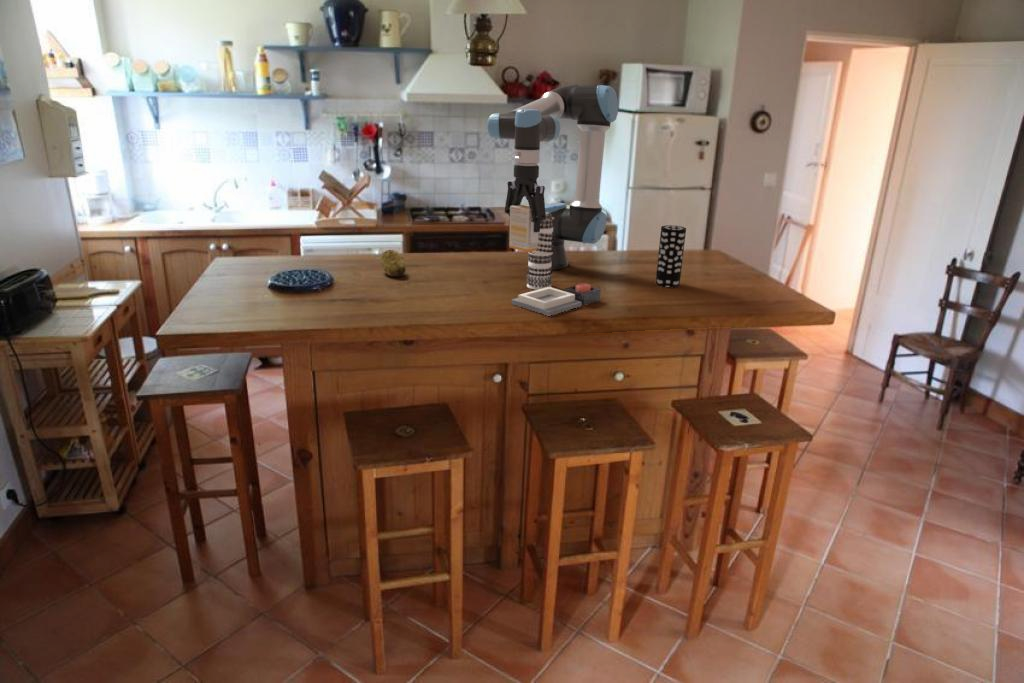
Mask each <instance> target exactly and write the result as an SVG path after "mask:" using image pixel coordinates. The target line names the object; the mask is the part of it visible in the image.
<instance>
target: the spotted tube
mask: <svg viewBox="0 0 1024 683" xmlns="http://www.w3.org/2000/svg"><path fill="white" fill-rule="evenodd" d="M686 232H687V228H686V227H684V226H680V225H671V224H670V225H662V226H660V236H659V246H658V253H657V254H658V255H657V264H656V273H655V285H656V284H657V285H656V286H658V287H660V286H662V288H666V287H672V288H671V289H674V288H673V287H675V288H678V286H679V287H680V285H681V277H682V276H681V275H682V267H683V260H684V259H683V258H684V250H685V243H686V242H685V241H686V240H685V239H686Z"/></svg>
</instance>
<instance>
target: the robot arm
mask: <svg viewBox="0 0 1024 683" xmlns="http://www.w3.org/2000/svg"><path fill="white" fill-rule="evenodd" d="M618 114H619V100H618V95H617V93H616V90H615V89H614V88H613V87H612V86H610V85H602V84H568V85H564V86H560V87H556V88H554V89H552V90H549V91H547V92H544V94H542V95H541V97H540V98H539V99H536V100H534V101H531V102H529V103H526V104H524V105H522V106H520V107H517V108H516V109H515V108H514V109H513V110H511V111H508V112H505V113H502V112H497V113H492V114H490V116H489V117H488V118H487V124H486V125H487V126H486V127H487V132H488V135H489V136H490V137H491V138H493V139H494V138H495V139H499V140H513V141H514V146H513V147H514V148H513V149H514V154H513V156H514V157H513V162H514V163H515V164H514V165H513V177H514V179H515V180H511V181H508V182H507V193H506V200H505V205H504V206H505V207H504V213H505V214H508V217H509V219H508V220H509V222H508V224H509V226H510V206H516V205H522V201H523V198H524V197H525V199H526V200H527V202H528V206H529V207H530V209H531V214H532V218H533V220H532V221H531V232H530V243H536V242H538V234H539V232H540V222H541V221H542V220H545V219H546V213H545V212H548V213H550V214H551V215H552V217H554V219H553V232H552V233H553V234H554V235H555V236H554V237H552V238H553V239H554V240H555V241H553V242H552V245H554V247H553V248H551V249H553V250H554V251H553V254H552V255H551V261H552V264H551V266H552V270H554V271H555V270H561V269H565V268H567V267H568V265H569V259H568V257H567V253H566V247H565V241H568V242H576V243H581V244H592V245H594V244H597V243H598V242H599V241H600V240H601V238H602V237H603V235H604V232H605V229H606V227H607V221H608V220H607V214H606V213H605V212H603V211H602V210H603V206H602V205H601V203H600V202H599V200H600V197H599V196H600V190H601V189H600V188H601V178H602V170H603V169H602V167H603V158H604V146H605V138H606V132H607V131H608V130H609V129H610V128H611V123H613V122H615V121H616V120H617V117H618ZM561 119H562V120H573V121H576V126H577V128H578V129H579V130H580V136H579V145H578V146H579V147H578V157H577V158H578V159H577V169H576V181H575V190H574V199H573V200H572V201H571V203H570V204H569V207H568V206H567V203H565V202H552V203H551V202H550V203H545V189H546V187H545V186H544V185H539V184H538V181H537V180H538V179H539V178H540V166H539V165H538V164H540V157H541V156H540V151H541V143H543V142H551V141H554V140H555V139H557V138H558V136H559V135H560V132H561V124H560V122H559V120H561ZM536 216H537V217H536ZM527 260H528V261H527V262H529V257H528V258H527ZM552 270H551V271H552Z"/></svg>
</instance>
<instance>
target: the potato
mask: <svg viewBox="0 0 1024 683" xmlns="http://www.w3.org/2000/svg"><path fill="white" fill-rule="evenodd" d="M380 264H381V266H382V268H383V269H384V272H385V274H386V275H388V276H389V277H394V278H395V277H396V278H400V277H402V276H403V275H405V274H406V270H407V269H406V265H405V262H404V258H403V256H402V255H401V254H399V253H398V251H397V250H394V249H388V250H385V251H383V253H382V254H381V257H380Z"/></svg>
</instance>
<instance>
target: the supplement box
mask: <svg viewBox="0 0 1024 683" xmlns="http://www.w3.org/2000/svg"><path fill="white" fill-rule="evenodd" d="M536 217H537V216H536ZM532 220H533V218H532V214H531V209H530V207H529V205H525V204H520V205H516V206H510V225H509V241H508V242H509V245H508V246H509V248H510V249H515V250H519V251H521V252H527V253H528V252H531V251H535V250H538V242H536V243H530V232H531V221H532Z"/></svg>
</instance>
